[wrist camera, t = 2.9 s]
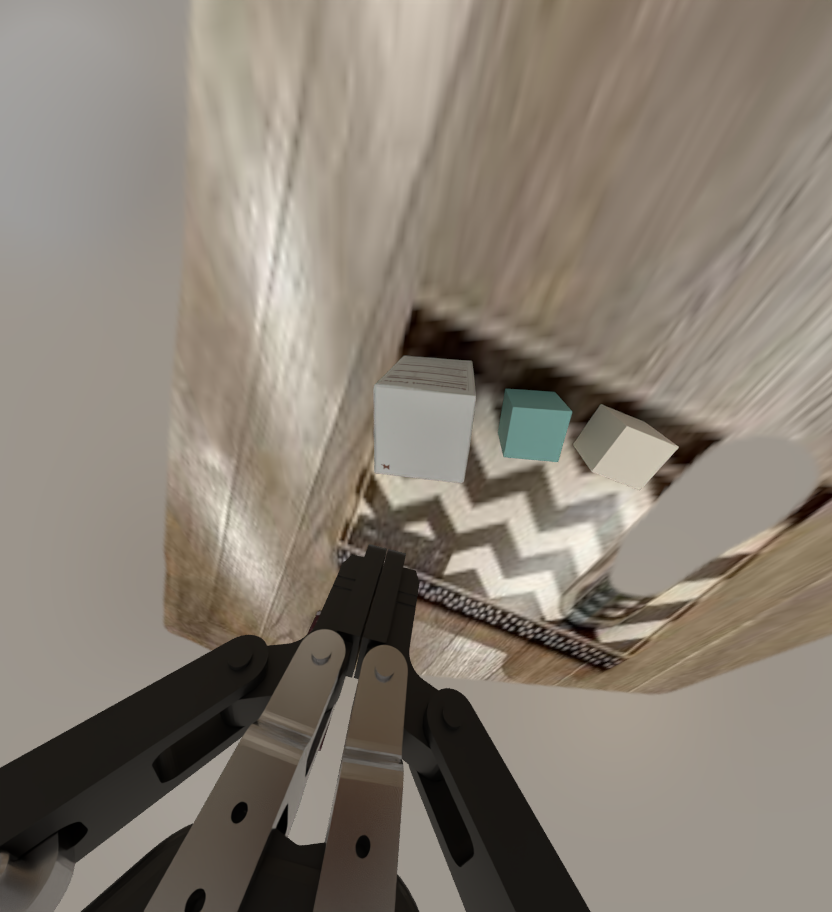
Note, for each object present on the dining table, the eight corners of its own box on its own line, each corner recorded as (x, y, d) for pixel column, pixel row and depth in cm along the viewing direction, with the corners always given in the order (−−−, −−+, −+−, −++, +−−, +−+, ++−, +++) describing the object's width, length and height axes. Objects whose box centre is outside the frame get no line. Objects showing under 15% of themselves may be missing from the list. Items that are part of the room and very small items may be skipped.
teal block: (505, 388, 33) (512, 407, 28) (554, 391, 32) (572, 411, 27) (497, 432, 35) (503, 457, 30) (544, 436, 35) (557, 462, 29)
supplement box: (464, 426, 35) (464, 487, 24) (399, 418, 36) (370, 475, 25) (474, 358, 32) (479, 395, 21) (402, 352, 33) (370, 384, 22)
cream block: (600, 403, 32) (626, 426, 27) (644, 421, 33) (678, 447, 27) (572, 444, 35) (591, 471, 29) (613, 460, 35) (639, 490, 30)
